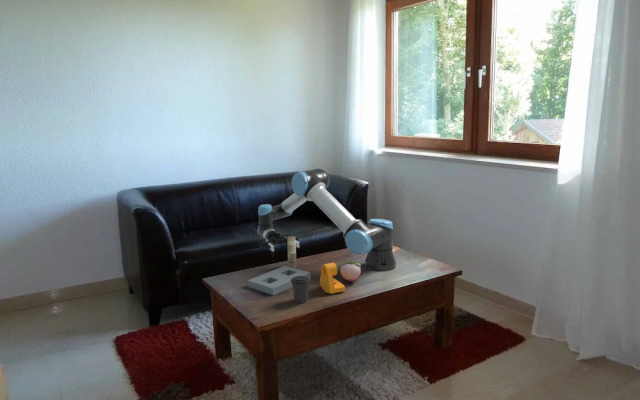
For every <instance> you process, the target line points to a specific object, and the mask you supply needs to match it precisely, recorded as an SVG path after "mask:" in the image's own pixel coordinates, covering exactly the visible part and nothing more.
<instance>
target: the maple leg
mask: <svg viewBox="0 0 640 400" xmlns="http://www.w3.org/2000/svg"><path fill="white" fill-rule="evenodd" d="M289 236H290V235H289ZM295 237H296V236H290V237H287V243H286V244H287V266H289V267H292V268H297V247H296V239H295Z"/></svg>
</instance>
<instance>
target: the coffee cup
mask: <svg viewBox="0 0 640 400" xmlns="http://www.w3.org/2000/svg"><path fill="white" fill-rule="evenodd" d="M291 282H292V287H291V288H292V292H293V299H294V300H293V301H294V302H295V303H296V304H306V303H307V302H308V300H309V290H310V289H309V288H310V282H311V279H310V278H309V277H306V276H296V277H293V278H292V279H291Z"/></svg>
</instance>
